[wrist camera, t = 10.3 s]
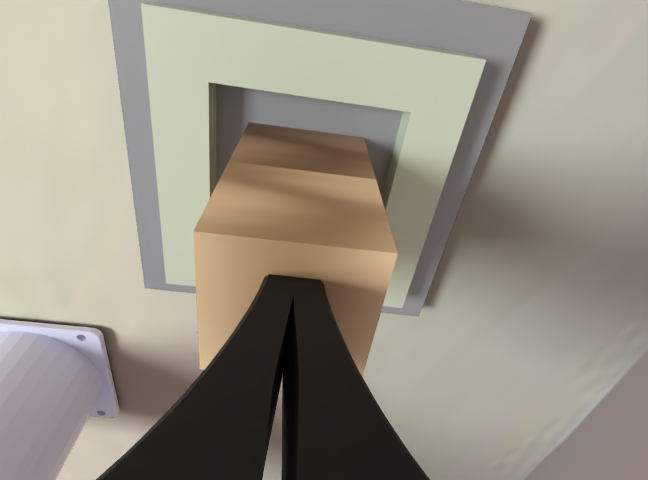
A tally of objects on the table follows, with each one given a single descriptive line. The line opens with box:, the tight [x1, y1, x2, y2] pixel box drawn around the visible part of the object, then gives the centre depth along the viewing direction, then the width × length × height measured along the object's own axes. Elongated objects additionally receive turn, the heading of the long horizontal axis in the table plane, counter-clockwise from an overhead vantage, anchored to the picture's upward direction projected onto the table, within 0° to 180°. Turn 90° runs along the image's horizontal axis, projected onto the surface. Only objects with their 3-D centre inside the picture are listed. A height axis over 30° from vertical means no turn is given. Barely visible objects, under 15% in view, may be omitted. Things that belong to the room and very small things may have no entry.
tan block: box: [193, 122, 398, 376], centre depth 13 cm, size 4×4×8 cm
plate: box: [108, 0, 533, 316], centre depth 16 cm, size 14×14×2 cm
